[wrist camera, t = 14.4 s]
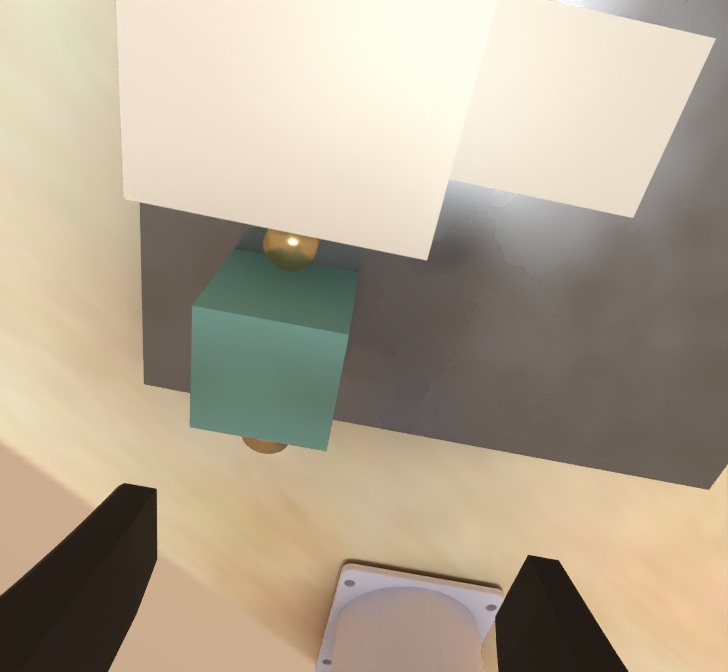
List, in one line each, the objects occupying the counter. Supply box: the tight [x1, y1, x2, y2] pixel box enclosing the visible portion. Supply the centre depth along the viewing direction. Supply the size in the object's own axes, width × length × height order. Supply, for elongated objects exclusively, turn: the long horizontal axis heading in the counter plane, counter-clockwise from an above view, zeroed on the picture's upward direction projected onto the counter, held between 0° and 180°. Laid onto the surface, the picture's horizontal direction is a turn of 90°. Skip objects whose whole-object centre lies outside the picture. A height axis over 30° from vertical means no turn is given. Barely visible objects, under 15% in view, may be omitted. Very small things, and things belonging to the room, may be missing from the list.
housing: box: [116, 0, 716, 260], centre depth 12 cm, size 7×12×4 cm, turn 79°
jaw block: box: [190, 249, 359, 451], centre depth 16 cm, size 4×4×4 cm
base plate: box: [140, 0, 728, 490], centre depth 16 cm, size 16×22×4 cm
